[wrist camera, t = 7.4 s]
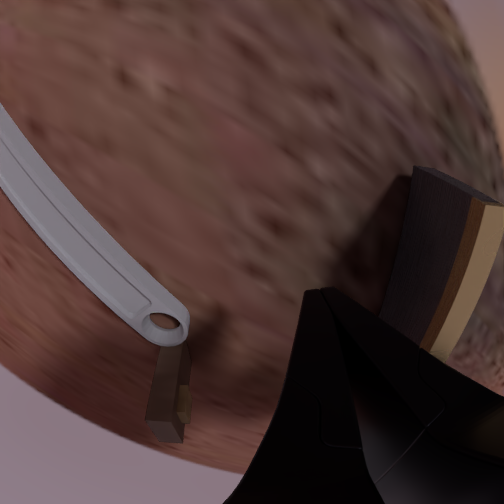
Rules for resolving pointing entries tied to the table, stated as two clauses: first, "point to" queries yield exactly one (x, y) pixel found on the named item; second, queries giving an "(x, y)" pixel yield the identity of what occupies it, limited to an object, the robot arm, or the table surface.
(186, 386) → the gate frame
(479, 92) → the table surface
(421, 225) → the gate panel
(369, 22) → the table surface
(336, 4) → the table surface
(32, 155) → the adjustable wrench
